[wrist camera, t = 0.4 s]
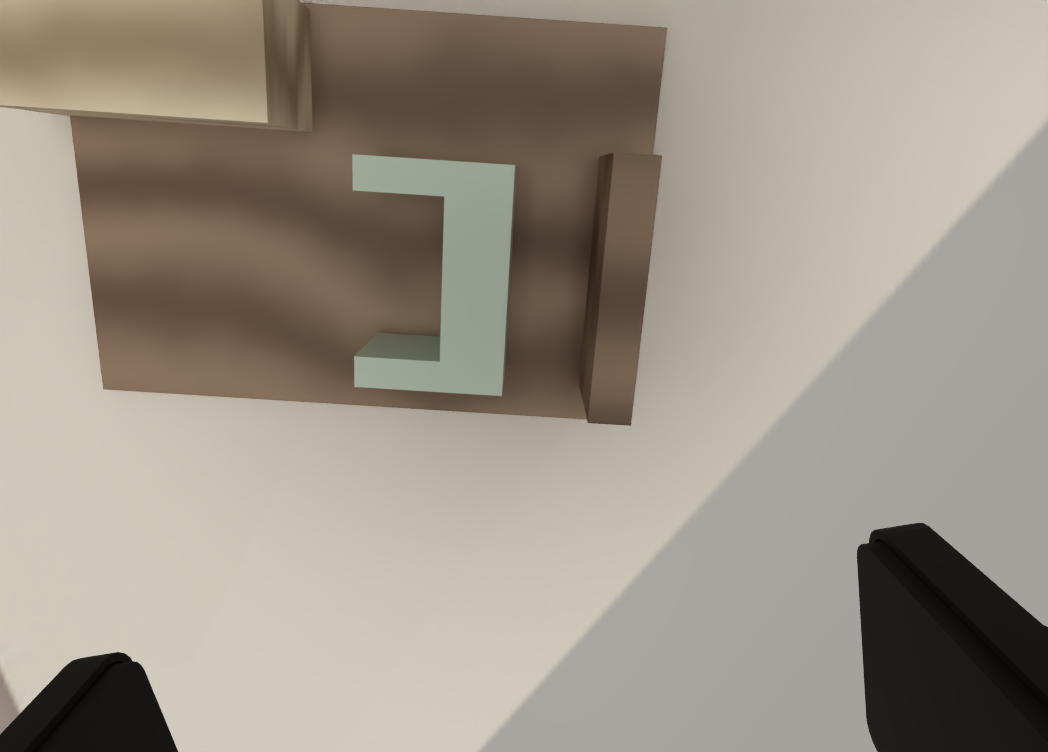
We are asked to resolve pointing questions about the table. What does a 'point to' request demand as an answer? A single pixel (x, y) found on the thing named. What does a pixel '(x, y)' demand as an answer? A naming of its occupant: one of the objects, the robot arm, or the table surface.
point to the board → (385, 217)
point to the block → (450, 278)
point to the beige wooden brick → (160, 60)
